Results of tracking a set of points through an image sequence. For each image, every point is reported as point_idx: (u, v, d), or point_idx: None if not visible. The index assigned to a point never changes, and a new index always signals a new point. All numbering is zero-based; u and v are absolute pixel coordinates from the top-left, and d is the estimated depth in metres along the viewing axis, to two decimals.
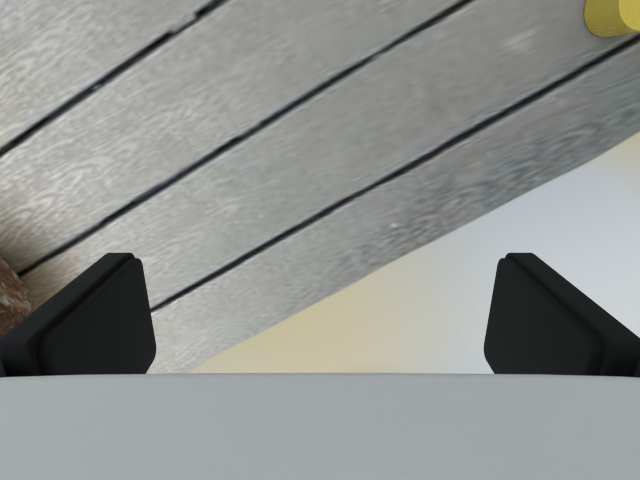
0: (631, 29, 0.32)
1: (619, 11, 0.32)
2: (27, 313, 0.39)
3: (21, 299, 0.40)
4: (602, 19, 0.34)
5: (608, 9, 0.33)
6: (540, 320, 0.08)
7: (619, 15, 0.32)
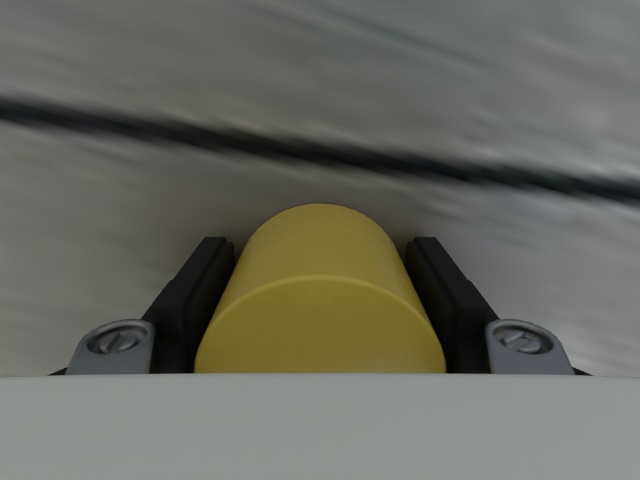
0: (430, 325, 0.07)
1: None
2: None
3: None
4: None
5: None
6: (425, 294, 0.09)
7: None
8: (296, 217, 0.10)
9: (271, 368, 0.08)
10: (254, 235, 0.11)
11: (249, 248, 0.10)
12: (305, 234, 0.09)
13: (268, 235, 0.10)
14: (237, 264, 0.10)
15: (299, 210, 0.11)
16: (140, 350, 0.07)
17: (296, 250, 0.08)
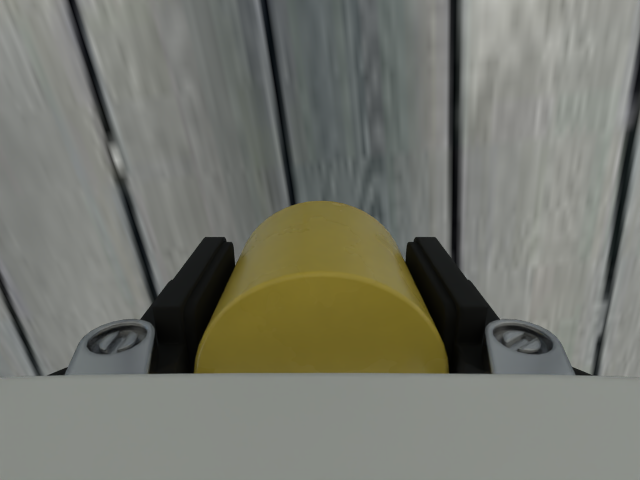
0: (432, 322, 0.07)
1: None
2: None
3: None
4: None
5: None
6: (425, 294, 0.09)
7: None
8: (297, 214, 0.10)
9: (271, 365, 0.07)
10: (255, 232, 0.11)
11: (250, 245, 0.10)
12: (306, 231, 0.09)
13: (269, 232, 0.10)
14: (238, 261, 0.10)
15: (300, 207, 0.11)
16: (140, 350, 0.07)
17: (296, 247, 0.08)
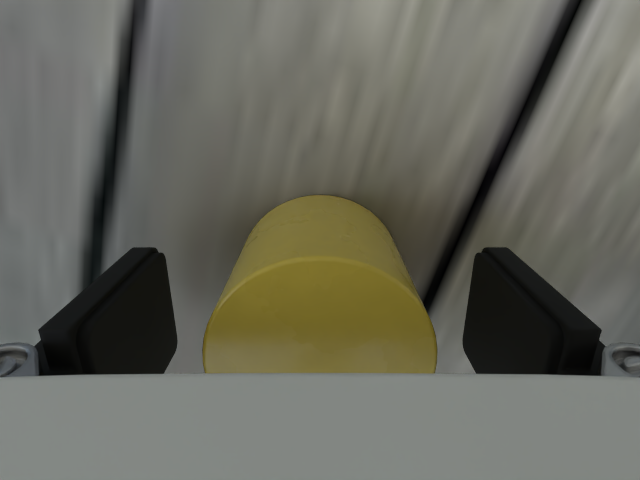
0: (421, 303, 0.08)
1: None
2: None
3: None
4: None
5: None
6: (510, 311, 0.09)
7: (434, 367, 0.09)
8: (297, 207, 0.11)
9: (274, 343, 0.08)
10: (257, 225, 0.12)
11: (253, 236, 0.11)
12: (306, 221, 0.09)
13: (271, 224, 0.10)
14: (242, 251, 0.11)
15: (300, 200, 0.11)
16: None
17: (297, 236, 0.09)
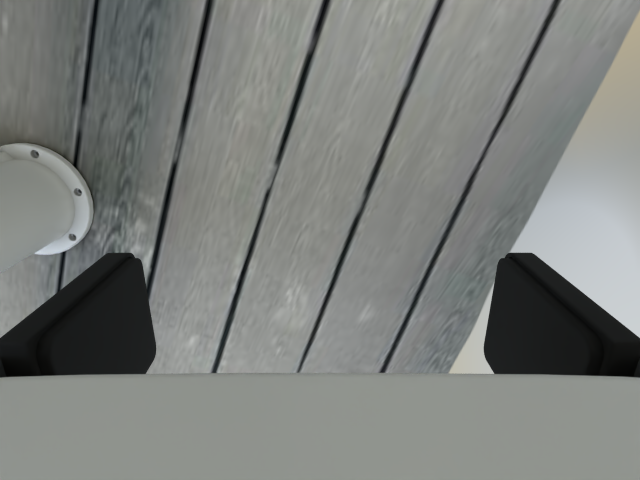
0: None
1: None
2: None
3: None
4: None
5: None
6: (540, 320, 0.08)
7: None
8: None
9: None
10: None
11: None
12: None
13: None
14: None
15: None
16: None
17: None
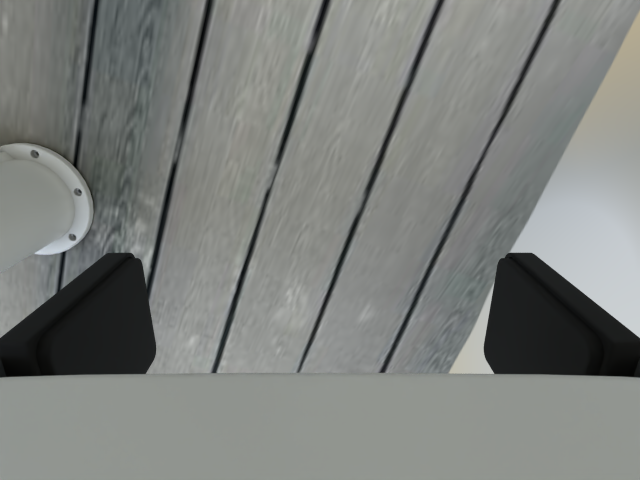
0: None
1: None
2: None
3: None
4: None
5: None
6: (540, 320, 0.08)
7: None
8: None
9: None
10: None
11: None
12: None
13: None
14: None
15: None
16: None
17: None
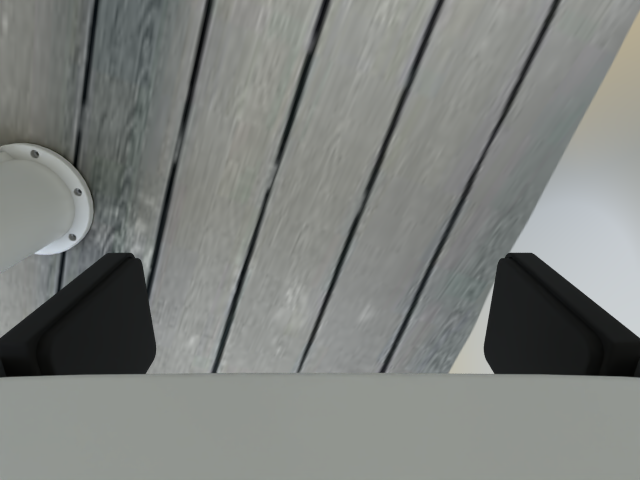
0: None
1: None
2: None
3: None
4: None
5: None
6: (540, 320, 0.08)
7: None
8: None
9: None
10: None
11: None
12: None
13: None
14: None
15: None
16: None
17: None
